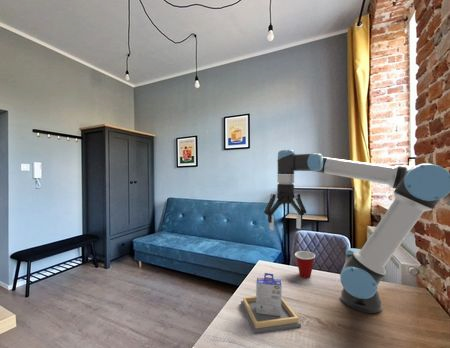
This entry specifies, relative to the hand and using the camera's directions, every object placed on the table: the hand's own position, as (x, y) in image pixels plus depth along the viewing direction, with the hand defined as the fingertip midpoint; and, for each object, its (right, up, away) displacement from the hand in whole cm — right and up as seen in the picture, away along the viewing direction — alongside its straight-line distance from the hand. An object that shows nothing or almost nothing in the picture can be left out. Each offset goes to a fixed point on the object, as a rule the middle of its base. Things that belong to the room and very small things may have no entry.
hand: (285, 229), depth 102 cm
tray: (-11, -31, -14) cm, 35 cm away
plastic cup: (+16, -31, +20) cm, 40 cm away
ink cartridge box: (-11, -30, -14) cm, 34 cm away
